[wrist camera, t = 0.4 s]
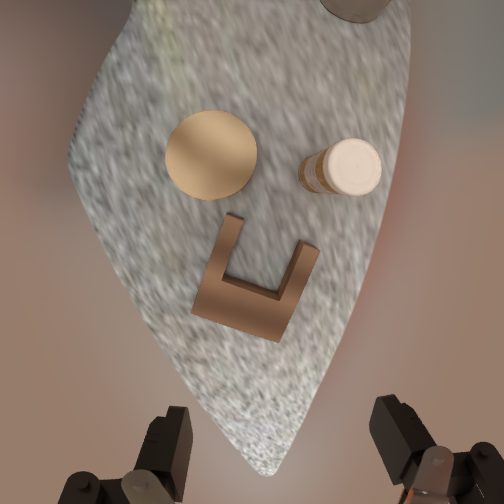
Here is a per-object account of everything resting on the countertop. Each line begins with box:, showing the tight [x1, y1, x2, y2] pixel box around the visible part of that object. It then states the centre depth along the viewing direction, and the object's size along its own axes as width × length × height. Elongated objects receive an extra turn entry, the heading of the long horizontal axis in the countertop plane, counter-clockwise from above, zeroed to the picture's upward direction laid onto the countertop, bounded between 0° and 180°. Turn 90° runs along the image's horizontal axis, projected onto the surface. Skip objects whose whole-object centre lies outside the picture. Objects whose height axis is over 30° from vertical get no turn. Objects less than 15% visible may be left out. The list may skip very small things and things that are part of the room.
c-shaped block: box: [191, 212, 320, 343], centre depth 35 cm, size 12×11×3 cm
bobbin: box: [165, 110, 257, 200], centre depth 30 cm, size 8×8×9 cm
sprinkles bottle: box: [299, 138, 382, 196], centre depth 28 cm, size 5×5×13 cm
